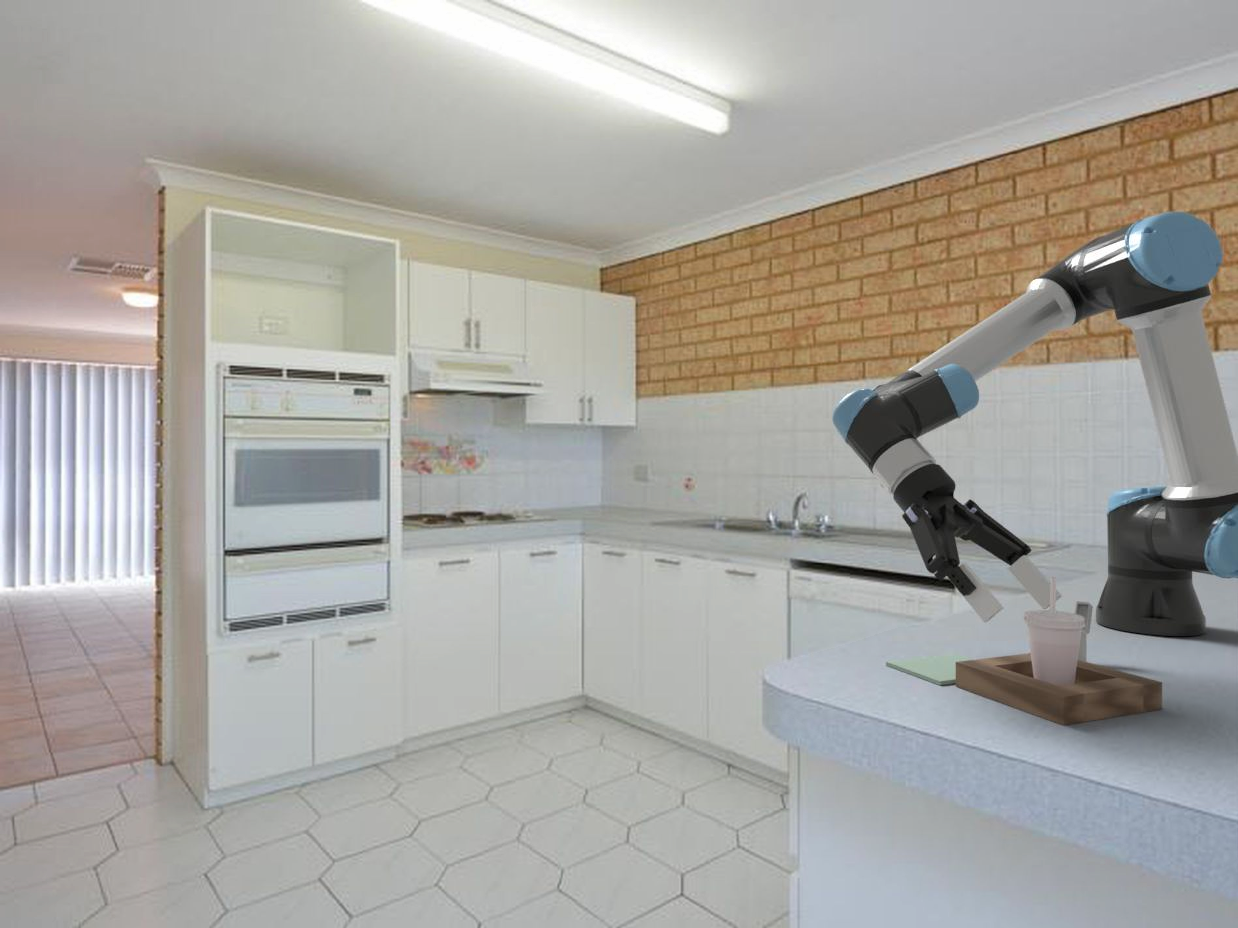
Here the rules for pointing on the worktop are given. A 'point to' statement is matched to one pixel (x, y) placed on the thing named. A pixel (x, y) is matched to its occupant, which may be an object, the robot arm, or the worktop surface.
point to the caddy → (1060, 689)
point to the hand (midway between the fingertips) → (1024, 608)
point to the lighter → (1086, 612)
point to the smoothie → (1054, 642)
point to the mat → (931, 667)
